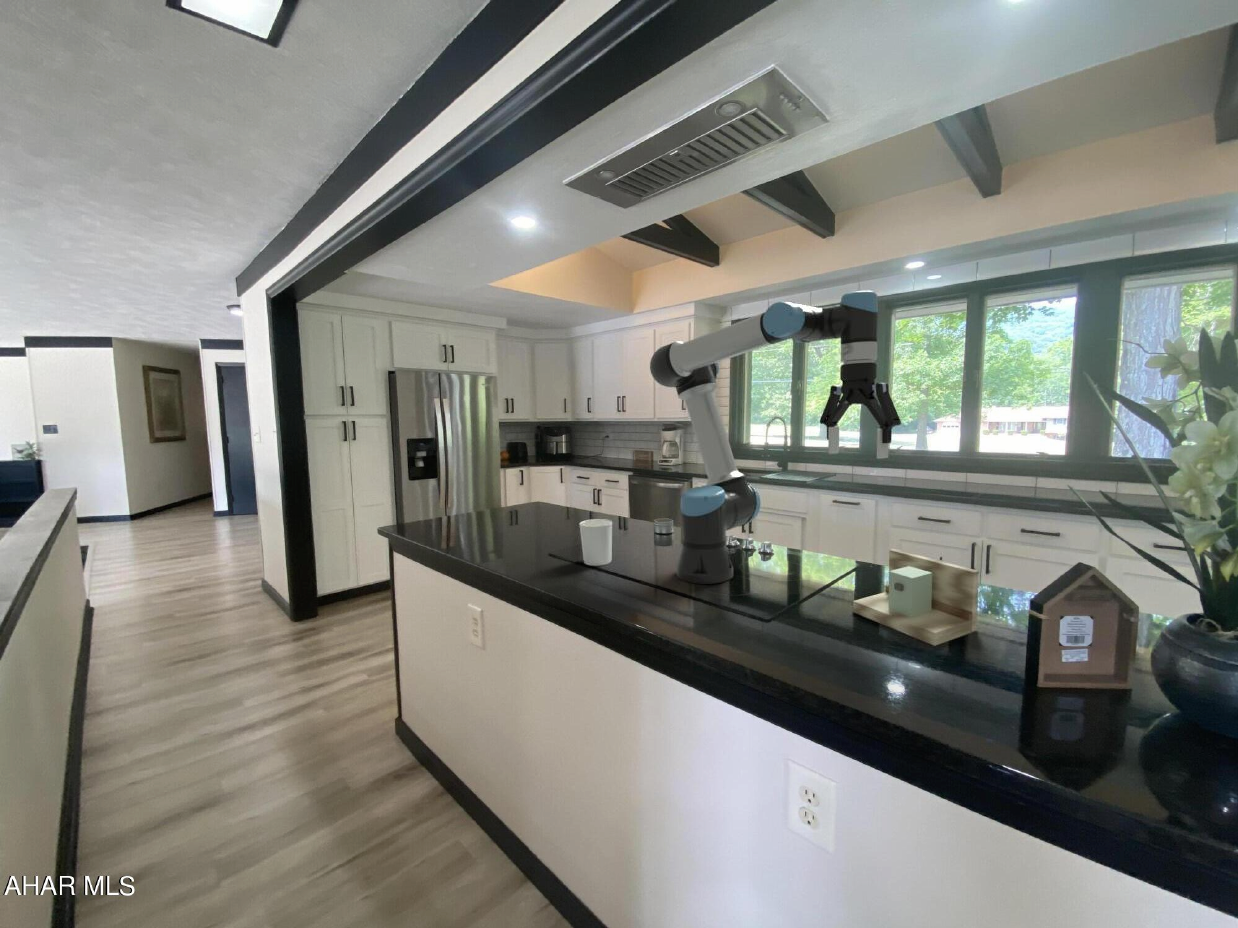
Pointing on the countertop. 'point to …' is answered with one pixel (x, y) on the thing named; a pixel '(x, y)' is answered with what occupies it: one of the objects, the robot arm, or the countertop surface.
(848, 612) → the countertop surface
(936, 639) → the cleat board
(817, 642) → the countertop surface
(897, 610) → the cabinet block
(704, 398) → the robot arm
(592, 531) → the candle holder
